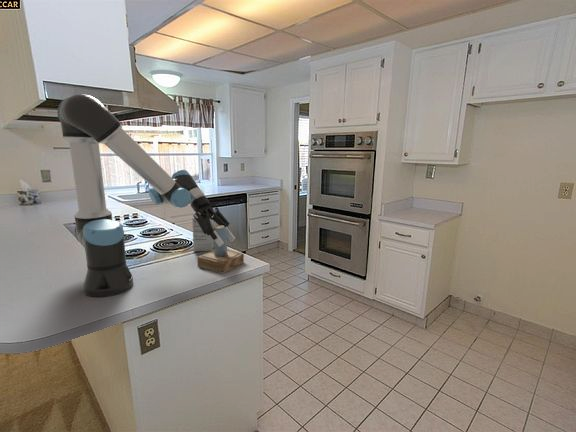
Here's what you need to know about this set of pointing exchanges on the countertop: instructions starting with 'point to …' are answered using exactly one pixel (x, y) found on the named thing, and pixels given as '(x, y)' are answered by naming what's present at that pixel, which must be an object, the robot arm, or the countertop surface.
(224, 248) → the canister
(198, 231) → the supplement box
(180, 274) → the countertop surface
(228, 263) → the walnut base
